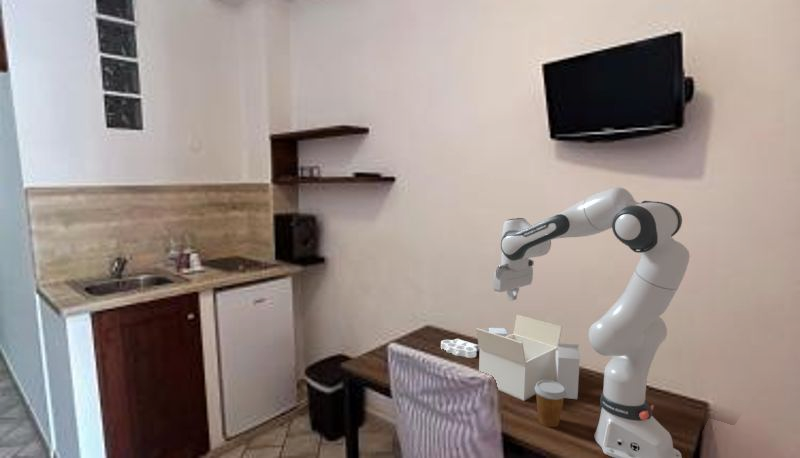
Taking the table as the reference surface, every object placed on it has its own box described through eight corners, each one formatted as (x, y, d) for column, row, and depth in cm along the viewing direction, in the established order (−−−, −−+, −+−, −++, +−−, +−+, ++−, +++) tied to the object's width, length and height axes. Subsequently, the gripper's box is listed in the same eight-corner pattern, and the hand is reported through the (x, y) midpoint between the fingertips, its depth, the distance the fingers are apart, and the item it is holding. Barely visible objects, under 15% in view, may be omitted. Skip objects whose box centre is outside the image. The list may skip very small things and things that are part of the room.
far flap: (557, 347, 171) (558, 347, 171) (561, 326, 171) (562, 326, 171) (513, 333, 185) (514, 333, 186) (516, 314, 186) (517, 314, 186)
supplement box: (504, 355, 198) (505, 327, 197) (506, 362, 191) (507, 333, 189) (487, 354, 199) (488, 327, 197) (489, 361, 192) (490, 332, 190)
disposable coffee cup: (540, 411, 151) (541, 377, 149) (568, 421, 144) (570, 385, 143) (528, 423, 143) (529, 387, 142) (557, 433, 137) (559, 396, 136)
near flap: (522, 342, 154) (521, 343, 153) (525, 362, 156) (524, 363, 156) (477, 328, 168) (476, 328, 168) (479, 346, 171) (478, 347, 170)
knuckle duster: (485, 352, 203) (467, 361, 192) (453, 342, 215) (434, 350, 204) (486, 345, 202) (468, 354, 192) (453, 335, 214) (434, 343, 204)
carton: (556, 382, 172) (557, 347, 170) (523, 400, 157) (525, 362, 156) (511, 366, 187) (513, 333, 185) (478, 381, 172) (479, 346, 171)
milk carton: (577, 399, 159) (580, 348, 157) (556, 397, 160) (559, 346, 158) (573, 390, 166) (576, 341, 164) (553, 388, 167) (556, 339, 165)
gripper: (504, 267, 153) (503, 306, 154) (536, 260, 166) (535, 297, 168) (489, 264, 157) (488, 303, 159) (521, 258, 171) (520, 293, 172)
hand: (512, 300), depth 163 cm, fingers closed
